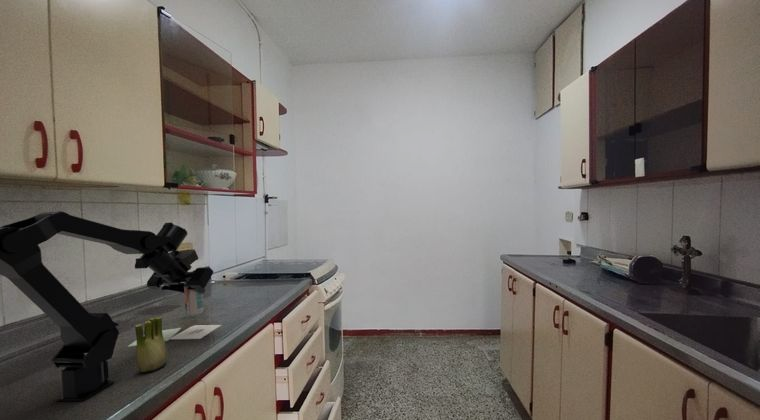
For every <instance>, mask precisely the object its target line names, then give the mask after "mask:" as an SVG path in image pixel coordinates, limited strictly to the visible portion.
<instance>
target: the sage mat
mask: <svg viewBox="0 0 760 420" xmlns="http://www.w3.org/2000/svg"><path fill="white" fill-rule="evenodd" d="M181 329H182V327H176V328H170V329H162V334H163V338H164V341H165V342H169V339H170V338H172V337H173V336H175V335H177V334H178V332H179V331H181ZM127 347H128V348H131V347H137V339H135V340H134V341H133V342H132V343H130V344H129V345H128V346H127Z"/></svg>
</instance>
